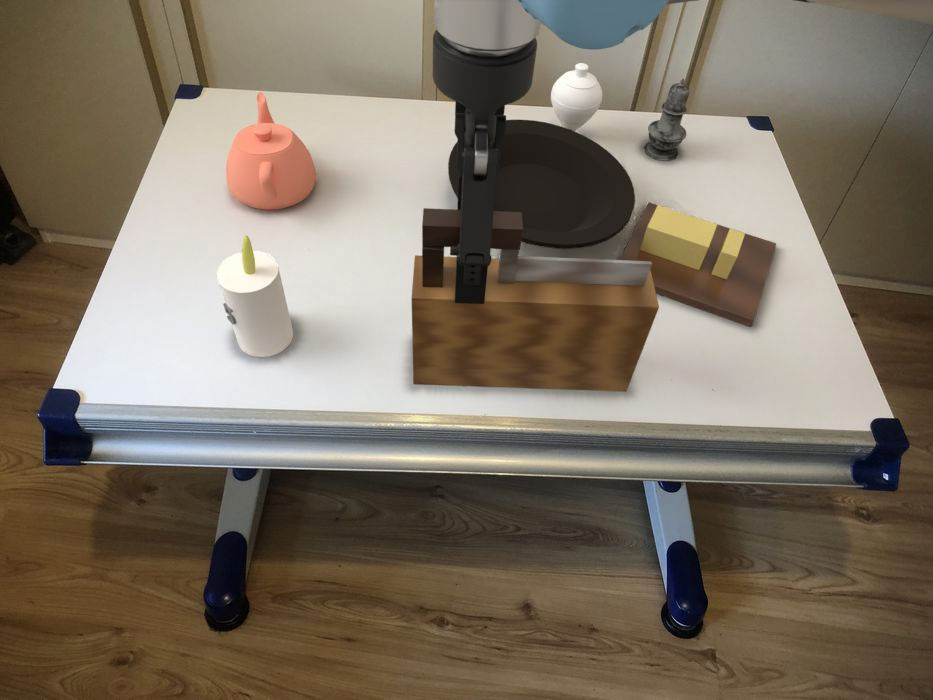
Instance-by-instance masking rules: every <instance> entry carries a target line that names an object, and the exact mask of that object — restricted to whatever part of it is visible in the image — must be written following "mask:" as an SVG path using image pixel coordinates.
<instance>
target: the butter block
mask: <svg viewBox="0 0 933 700" xmlns="http://www.w3.org/2000/svg"><path fill="white" fill-rule="evenodd" d="M657 205H658V206H657V208H656V210H655V212H654V214H653V216H652V218H651V220H650V222H649V224H648V226H647V229H646V232H645V235H644V238H643V241H642V244H641V247H640V250H641V251H644V252H647V253H650V254H653V255H656V256H659V257H662V258H665V259H668V260H670V261H673V262H676V263H679V264H682V265H685V266H688V267H691V268H694V269H697V270H699V269H700V267H701V264H702V262H703V260H704V257H705V255H706V253H707V250H708V248H709V246H710V243H711V240H712V238H713V235H714V232H715V230H716V227H717V224H718V223H715V222H712V221H709V220H706V221H705V219H703V218H699V217H696V216H693V215H690V214H686V213H684V214H683V212H681V211H678V210H675V209H672V208H668V207H665V206H661V205H659V204H657ZM674 210H675V211H674ZM677 211H678V212H677ZM680 212H681V213H680ZM708 221H709V222H708ZM711 222H712V223H711ZM714 223H715V224H714Z"/></svg>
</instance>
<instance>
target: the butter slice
mask: <svg viewBox="0 0 933 700" xmlns="http://www.w3.org/2000/svg"><path fill="white" fill-rule="evenodd" d="M742 232H743V231H740V232H739V230H737V231H736V229H733V228H730V229H729V232H728V234H727V236H726V238H725V241H724V243H723V245H722V247H721V250H720V252H719V255H718V257H717V260H716V263H715V266H714V268H713V271H712V275H715V276H718V277H720V278H723V279H727V278H728V276H729V274H730V271H731V269H732V267H733V265H734V263H735V261H736V259H737V257H738V254H739V251H740V248H741V245H742V242H743V239H744V236H745V232H743V233H742Z"/></svg>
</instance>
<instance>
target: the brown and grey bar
mask: <svg viewBox="0 0 933 700" xmlns="http://www.w3.org/2000/svg"><path fill="white" fill-rule="evenodd" d="M460 219H461V210H457V209H454V208H453V209H452V208H430V207H429V208H427V207H423V211H422V223H421V229H422V232H421V233H422V234H421V235H422V237H421V238H422V240H421V244H422V246H421V256H422V286H423V287H443V272H444V257H445V248H450V246H454V247H457V244H459V243H460ZM522 232H523V224H522V213H521V212H501V211H494V212H493V225H492V238H491V250H500V253H499V259H500V260H499V269H498V283H508V284H514V282H515V281H529V282H555V283H580V284H606V285H632V286H644V285H645V283H646V280H647V277H648V274H649V271H650V268H651V265H652V262H651V261H627V260H620V259H598V258H575V257H551V256H549V257H548V256H525V255H523V256H522V255H521V256H520V255H519V252H520V250H521V245H522V242H521V239H522Z"/></svg>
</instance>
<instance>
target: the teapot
mask: <svg viewBox="0 0 933 700" xmlns="http://www.w3.org/2000/svg"><path fill="white" fill-rule="evenodd" d="M256 103H257V123H255V124H251V125H248V126H246V127H244V128H242V129H240V130H239V131H238V132H237V134H236V135H235V136H234V139H233V141H232V144H231V146H230V149H229V151H228V155H227V158H226V165H225V166H226V167H225V173H226V174H225V176H226V183H227V187H228V190H229V192H230V193H231V195H232V196H233V197H234V199H236V200H237V201H239V202H240V203H242V204H244V205H246V206H248V207H250V208H254V209H259V210H268V211H269V210H270V211H271V210H281V209H287V208H289V207H293V206H295V205H297V204H300V203H301V202H303V201H304V200H305V199H306V198H307V197H308V196H309V195H310V194H311V192H312V191H313V189H314V187H315V185H316V181H317V171H316V170H317V169H316V167H315V166H316V165H315V162H314V160H313V157H312V155H311V153H310V151H309V150H308V148H307V146H306V145H305V144H304V142H303V141H302V140H301V138H300V137H299V136H298V135H297V133H295V132H294V131H293V130H292V129H291V128H289V127H288V126H286V125H283V124H280V123H275V120H274V118H273V117H272V113H271V112H270V109H269V106H268V101H267V97H266V95H265V94H264V93H263V92H258V93H257V95H256Z"/></svg>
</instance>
